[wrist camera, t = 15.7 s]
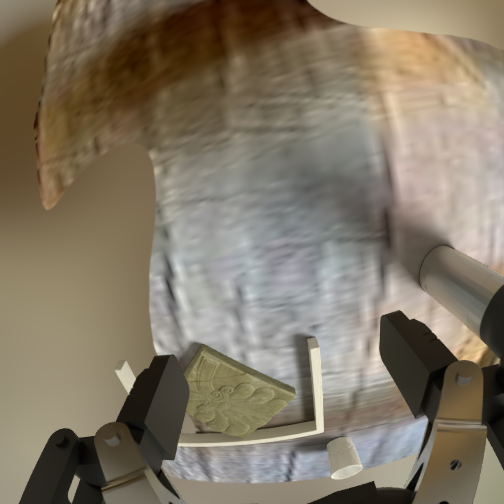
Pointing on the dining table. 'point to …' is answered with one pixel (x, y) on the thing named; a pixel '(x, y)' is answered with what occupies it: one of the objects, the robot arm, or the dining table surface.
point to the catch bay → (261, 434)
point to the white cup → (343, 458)
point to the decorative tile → (232, 394)
